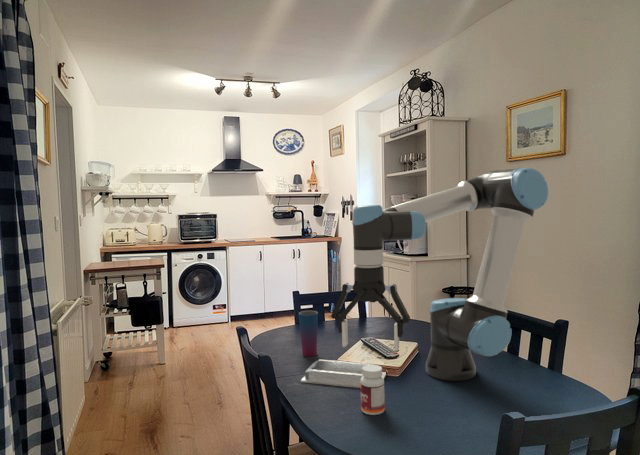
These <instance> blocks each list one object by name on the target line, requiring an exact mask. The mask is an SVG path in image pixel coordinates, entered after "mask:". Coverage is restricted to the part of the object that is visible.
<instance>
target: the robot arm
mask: <svg viewBox="0 0 640 455" xmlns="http://www.w3.org/2000/svg"><path fill="white" fill-rule="evenodd" d="M548 187H549V186H548V183H547V181H546V179H545V177H544V175H543V174H542V173H541V172H540V171H539V170H537V169H536V168H531V167H517V168H511V169H510V168H509V169H498V170H492V171H489V172H485V173H483V174H479V175H477V176H475V177H472V178H469V179H467V180H462V181H461V182H459V183H458V184H457V185H456V186H454V187H451V188H448V189H445V190H441V191H438V192H435V193H431V194H428V195H425V196H422V197H417V198H415V199H413V200H412V199H411V200H408V201H406V202H403V203H399V204H396V205H393V206H390V207H386V208H384V209H383V206H382V205H380V204H373V205H366V204H363V205H356V206H355V207H354V208H353V210H352V211H353V213H352V234H353V264H354V265H355V266H354V268H353V273H354V274H353V278H354V280H353V281H354V283H353V284H351V283H349V282H345V283H343V284H342V287H341V293H340V296H339V298H338V300H337V302H336V304H335V306H334V308H333V311H332V313H331V315H330V317H331V319H333V320H336V321H337V325H338V326H337V327H338V329H337V330H338V334H341V336H342V340H341V342H342V344H341V345H342V347H343V348H344V347H345V348H346V347H347V345H349V337H348V336H349V335H348V333H349V332H348V329H349V328H348V319H346V317H347V315H349V314H350V312H351V310H353V308H354V307H355V306H356V305H357V304H358V303H359V301H361V302H363V303H366V302H367V303H368V302H369V303H377V302H378V304H379V305H381V307H383V309H384V311H385V310H386V312H387V313H388V314H389V316H390V317H391V318H392V320H394V322H395V323H394V325H393V336H394V337H393V338H394V340H393V341H394V346H393V347H394V351H395V352H397V351H399V348H400V338H402V337H403V335H404V324H407V323H409V322H410V320H411V316H410V315H409V313H408V311H407V308H406V306H405V305H404V303H403V301H402V299H401V297H400V295H399V293H398V287H397V284H395V283H392V284H391V285H390V284H389V285H385V279H384V277H385V276H384V275H385V274H384V273H385V272H384V271H385V269H384V266H383V264H384V242H392V241H393V242H394V241H413V240H419V239H421V238H422V237H423V236H424V235H425V233H426V230H427V227H426V224H427V223H428V222H432V221H434V220H437V219H440V218H444V217H447V216H449V215H453V214H456V213H458V212H459V213H460V212H462V211H466V212H472V211H476V210H481V209H489V210H490V212H491V214H492V215H493V218H492V221H491V225H490V229H489V234H488V237H487V241H486V244H485V248H484V252H483V255H482V260H481V264H480V267H479V271H478V274H477V278H476V282H475V285H474V290H473V292H472V295H471V296H470V297H469V298H468V297H467V298H464V297H462V298H461V297H450V298H440V299H435V300H433V301H432V302H431V303H430V307H429V308H430V309H429V315H430V318H429V319H430V349H429V352H428V356H427V359H426V361H425V372H426V374H427V375H429V376H430V377H432V378H435V379H438V380H442V381H450V382H452V381H453V382H458V381H460V382H461V381H468V380H471V379H473V378H475V376H476V375H477V371H476V370H477V366H476V364H475V360H474V358H473V354H472V353H474V354H477V355H481V356H485V357H493V356H496V355H499V354H500V353H502V352H503V351H504V350H505V349H506V348H507V347H508V345H509V344H510V342H511V338H512V335H513V334H512V327H511V324H510V321H508V320H507V316H508V310H507V308H506V306H505V300H506V298H507V294H508V290H509V286H510V281H511V278H512V274H513V270H514V266H515V262H516V259H517V254H518V252H519V247H520V243H521V240H522V236H523V232H524V228H525V225H526V223H528V222H530V221H531V220H533V217H534V213H535V210H538V209H541V208H542V207H543V206H544V205H545V204H546V203H547V200H548V197H549V188H548ZM352 290H353V292H354V293H355V294H356V295H355V297H354V298H353V299H352V300H351V301H350V303H349V304H348V305H347V306H346V307H345V309H344V310H343V311H342V312H341V314H340V311H341V309H342V307H343V305H344V303H345V300H346V299H347V296H348V294H349V293H351V291H352ZM385 291H387V293H388V294H390V296H391V298H392V300H393V302H394V303H395V306H396V308H397V310H398V311H397V310H396V309H395V308H394V307H393V306H392V304H391V303H390V302H389V301H388V300H387V297H386V296H385V295H384V293H385ZM398 312H399V313H398Z"/></svg>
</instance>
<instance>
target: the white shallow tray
mask: <svg viewBox="0 0 640 455" xmlns="http://www.w3.org/2000/svg"><path fill="white" fill-rule="evenodd" d="M366 365H375V363H369V362H359V361H357V362H356V361H355V362H354V361H344V360H331V359H320V358H319V359H318V360H315V361H314V362H313V363H311V365H310V366H309V367H308V368H307V369H306V370H305V371H304V376H303V377H302V378H301V379H300V383H303V384H304V383H305V384H313V385H325V386H335V387H343V388H344V387H345V388H354V389H361V388H360V387H361V386H360V380H361V378H362V376H363V375H362V368H363V366H366ZM382 377H383V379H384V380H385V378H386V377H387V374H386V372H382Z"/></svg>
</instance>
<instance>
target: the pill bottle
mask: <svg viewBox="0 0 640 455" xmlns="http://www.w3.org/2000/svg"><path fill="white" fill-rule="evenodd" d="M382 370H383V367H382V366H380V365H378V364H374V365H366V366H363V368H362V375H363V376H362V378H361V380H360V386H361V387H360V388H359V389H360V410H361V412H362V413H364V415H365V414H366V415H369V416H376V415H377V416H378V415H381V414H384V412H385V407H386V406H385V404H386V403H385V401H386V400H385V399H386V398H385V378H384V379H383V377H382Z"/></svg>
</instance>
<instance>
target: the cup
mask: <svg viewBox="0 0 640 455" xmlns="http://www.w3.org/2000/svg"><path fill="white" fill-rule="evenodd" d="M318 316H319V312H318V311H316V310H302V311H299V312H298V320H299V330H300V339H301V341H300V342H301V350H302V356H304V357H314V356H316V355H317V353H318V352H317V351H318V350H317V349H318V322H319V321H318V320H319V319H318V318H319V317H318Z"/></svg>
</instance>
